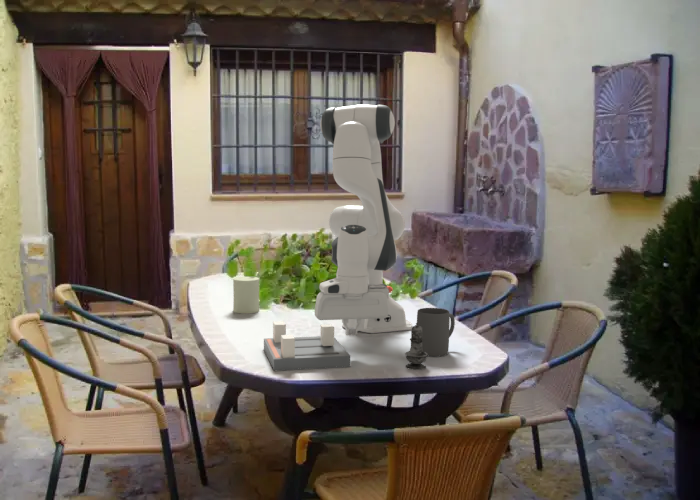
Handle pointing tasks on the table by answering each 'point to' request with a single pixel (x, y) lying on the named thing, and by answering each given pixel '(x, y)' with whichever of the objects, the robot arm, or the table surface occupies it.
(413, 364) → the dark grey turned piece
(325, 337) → the handle
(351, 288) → the robot arm
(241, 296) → the can
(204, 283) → the table surface
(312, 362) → the breaker panel
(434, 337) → the mug
